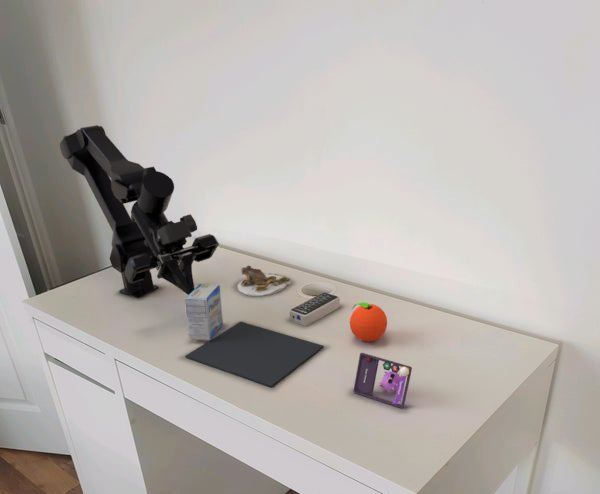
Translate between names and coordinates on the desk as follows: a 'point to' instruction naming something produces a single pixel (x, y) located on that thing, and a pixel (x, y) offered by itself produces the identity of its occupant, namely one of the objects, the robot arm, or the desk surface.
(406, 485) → the desk surface
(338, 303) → the multiport hub
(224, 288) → the desk surface
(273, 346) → the mouse mat
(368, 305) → the clementine
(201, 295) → the medicine box
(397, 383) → the game card
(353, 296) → the desk surface
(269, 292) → the frog figurine
